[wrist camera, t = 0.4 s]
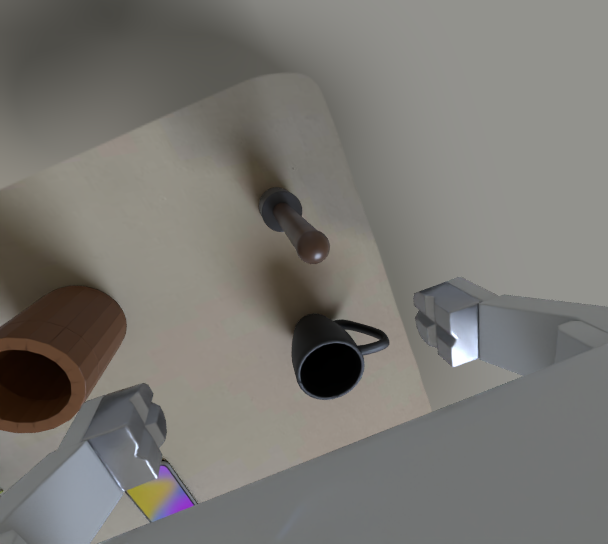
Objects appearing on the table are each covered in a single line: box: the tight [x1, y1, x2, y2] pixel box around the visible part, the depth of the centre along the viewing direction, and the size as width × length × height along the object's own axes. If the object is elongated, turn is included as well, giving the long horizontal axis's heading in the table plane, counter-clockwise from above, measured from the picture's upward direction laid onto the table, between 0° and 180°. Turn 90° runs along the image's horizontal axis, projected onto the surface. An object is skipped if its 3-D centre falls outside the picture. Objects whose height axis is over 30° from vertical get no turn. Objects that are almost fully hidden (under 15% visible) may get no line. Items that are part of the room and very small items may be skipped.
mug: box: [292, 314, 389, 400], centre depth 42 cm, size 8×12×10 cm
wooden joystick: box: [259, 187, 330, 264], centre depth 30 cm, size 4×4×21 cm
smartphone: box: [125, 461, 197, 523], centre depth 51 cm, size 7×1×15 cm
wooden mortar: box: [0, 286, 127, 433], centre depth 34 cm, size 10×10×12 cm
